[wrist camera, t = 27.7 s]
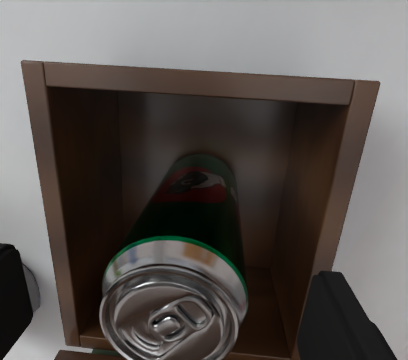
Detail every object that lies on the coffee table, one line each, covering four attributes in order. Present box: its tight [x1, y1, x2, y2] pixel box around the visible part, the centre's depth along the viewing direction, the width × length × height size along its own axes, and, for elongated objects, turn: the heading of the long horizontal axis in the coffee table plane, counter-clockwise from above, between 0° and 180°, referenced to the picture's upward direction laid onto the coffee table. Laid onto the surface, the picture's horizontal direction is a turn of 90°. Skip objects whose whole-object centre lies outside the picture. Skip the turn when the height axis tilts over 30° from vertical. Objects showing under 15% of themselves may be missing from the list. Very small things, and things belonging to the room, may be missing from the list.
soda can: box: [99, 153, 249, 360], centre depth 14 cm, size 5×5×12 cm
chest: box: [21, 60, 380, 360], centre depth 17 cm, size 15×13×8 cm
